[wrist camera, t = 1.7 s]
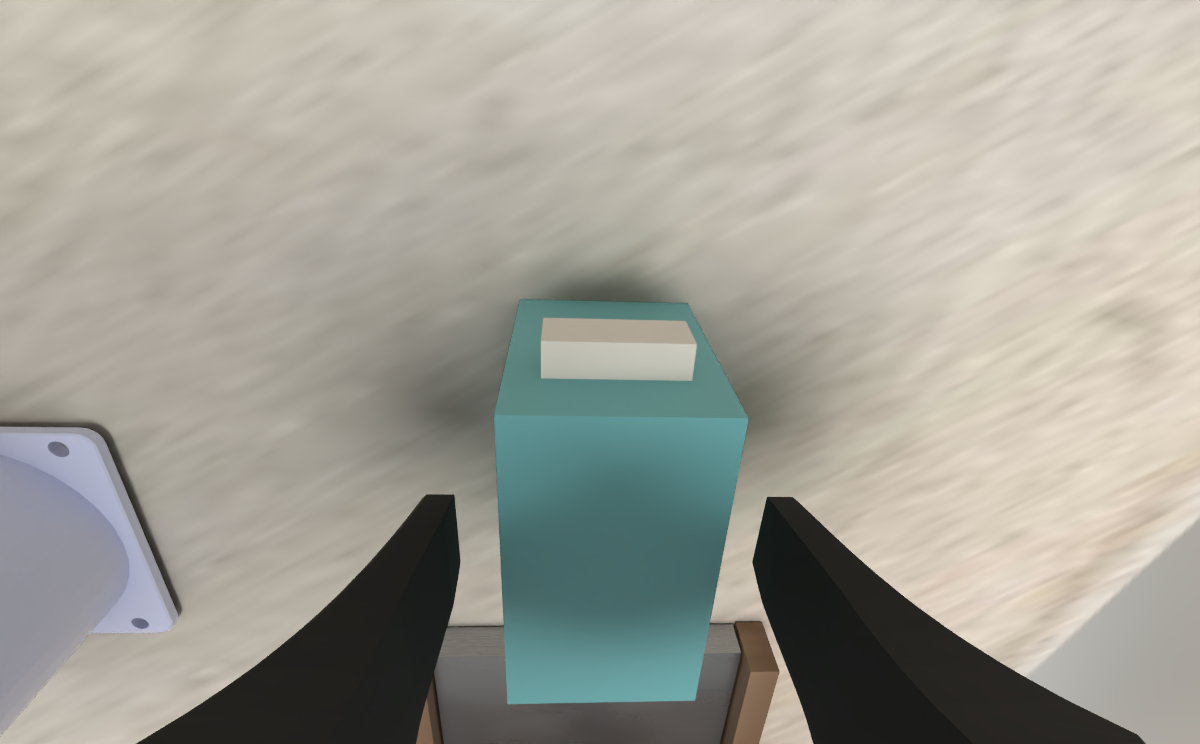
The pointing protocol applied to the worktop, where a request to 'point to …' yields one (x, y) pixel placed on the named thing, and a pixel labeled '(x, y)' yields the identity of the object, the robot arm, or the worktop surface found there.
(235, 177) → the worktop surface
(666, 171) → the worktop surface
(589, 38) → the worktop surface
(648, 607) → the cabinet block
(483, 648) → the grey flat plate
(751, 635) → the wooden tray
